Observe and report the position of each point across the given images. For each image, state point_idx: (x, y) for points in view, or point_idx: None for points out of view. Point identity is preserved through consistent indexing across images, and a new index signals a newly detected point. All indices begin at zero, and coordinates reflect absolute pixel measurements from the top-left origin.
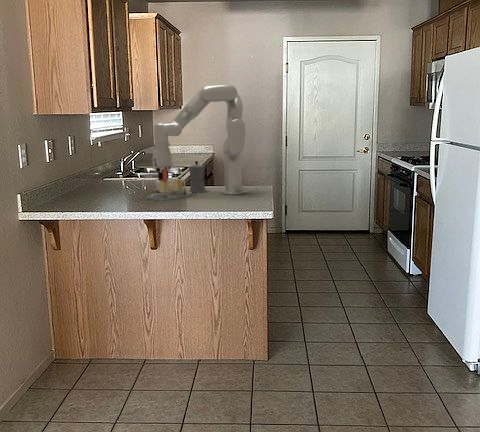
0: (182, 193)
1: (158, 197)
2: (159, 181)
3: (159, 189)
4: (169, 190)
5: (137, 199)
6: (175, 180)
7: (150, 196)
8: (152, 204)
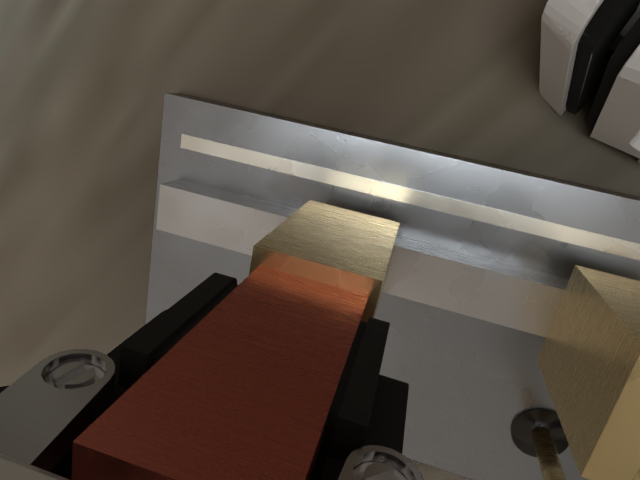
0: (544, 397)
1: (179, 296)
2: (251, 261)
3: (300, 209)
4: (629, 144)
5: (87, 39)
6: (602, 417)
7: (184, 156)
8: (8, 382)
